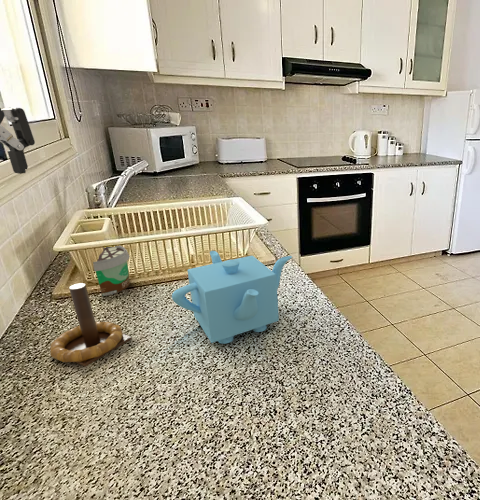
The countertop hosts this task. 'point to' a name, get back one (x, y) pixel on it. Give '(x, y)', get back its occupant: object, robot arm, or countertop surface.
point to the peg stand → (88, 324)
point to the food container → (112, 270)
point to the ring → (88, 353)
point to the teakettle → (232, 296)
